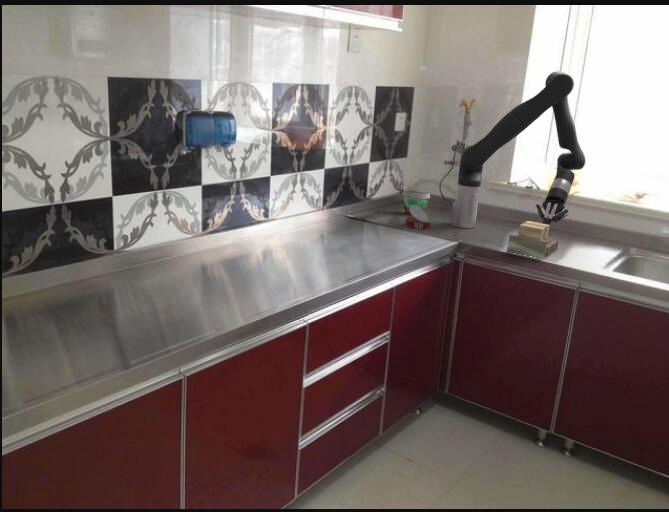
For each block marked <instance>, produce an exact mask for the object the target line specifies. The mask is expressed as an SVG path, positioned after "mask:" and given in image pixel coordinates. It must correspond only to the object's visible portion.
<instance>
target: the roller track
mask: <svg viewBox="0 0 669 512" xmlns="http://www.w3.org/2000/svg"><path fill="white" fill-rule="evenodd" d="M559 243H560V240H559V239H554V240H548V239H547V241H545V240H540V239H535V238H530V237H525V236H520V235H518V234H514V233H510V234H509V237H508V242H507V248H506V249H507V250H506V252H507V253H509V252H510V254H513V253H516V254H515V255H518V254H521V255H520V256H523V255H526V256H525V257H527V256H532V257H536V258H541V259H543V260H544V258H545V257H546V256H547V257H549V256H550V255H551V253H552V252H553V253H554V252H556V251H557V250H558V248H559ZM555 250H556V251H555ZM553 253H552V254H553ZM549 254H550V255H549ZM548 255H549V256H548ZM532 257H531V258H532ZM547 257H546V258H547ZM536 258H535V259H536ZM546 258H545V259H546ZM541 259H540V260H541Z"/></svg>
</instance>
